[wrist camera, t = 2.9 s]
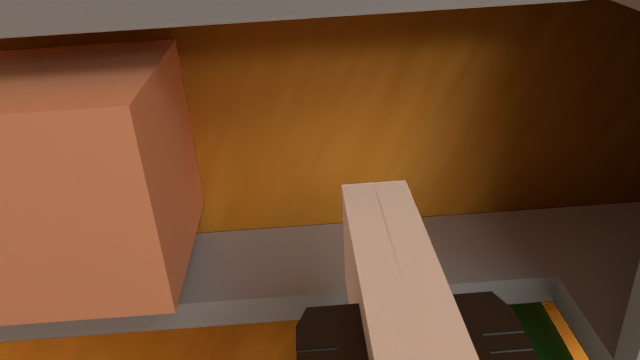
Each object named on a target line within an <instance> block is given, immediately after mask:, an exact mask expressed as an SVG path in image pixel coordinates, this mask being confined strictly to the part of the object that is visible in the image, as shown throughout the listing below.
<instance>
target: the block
mask: <svg viewBox="0 0 640 360" xmlns="http://www.w3.org/2000/svg"><path fill="white" fill-rule="evenodd" d="M203 206H204V199H203V194H202V188H201V182H200V176H199V171H198V165H197V159H196V153H195V148H194V142H193V136H192V130H191V125H190V119H189V113H188V107H187V102H186V96H185V90H184V84H183V79H182V73H181V67H180V61H179V56H178V50H177V44H176V39H173V40H157V41H142V42H126V43H111V44H96V45H80V46H65V47H49V48H34V49H18V50H3V51H0V326H7V325H21V324H35V323H48V322H62V321H75V320H89V319H102V318H116V317H129V316H143V315H156V314H170V313H176V310H177V306H178V302H179V298H180V294H181V290H182V287H183V283H184V279H185V275H186V271H187V267H188V263H189V260H190V256H191V252H192V248H193V244H194V240H195V237H196V233H197V229H198V225H199V221H200V217H201V213H202V210H203Z"/></svg>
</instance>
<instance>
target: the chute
mask: <svg viewBox="0 0 640 360" xmlns="http://www.w3.org/2000/svg"><path fill="white" fill-rule="evenodd" d="M571 1H587V0H0V38H15V37H31V36H46V35H62V34H77V33H93V32H108V31H123V30H139V29H154V28H170V27H185V26H201V25H216V24H232V23H247V22H262V21H278V20H293V19H309V18H324V17H340V16H355V15H371V14H386V13H401V12H417V11H432V10H448V9H463V8H479V7H494V6H509V5H525V4H540V3H556V2H571ZM611 1H614V2H617V3H619V4H622V5H625V6H627V7H630V8H633V9H635V10H638V11H640V0H611ZM421 219H422V221H423V224H424V226H425V229H426V231H427V234H428V236H429V238H430V241H431V243H432V246H433V248H434V251H435V253H436V255H437V258H438V260H439V263H440V265H441V268H442V270H443V272H444V275H445V277H446V280H447V282H448V285H449V287H450V290H451V292H452V294H463V293H475V292H488V291H492V292H493V293H494V294H496V295H497V296H498V297H499V298H500V299H502V300H503V301H504V302H505V303H506V304H520V303H533V302H547V301H553V302H554V304H555V305H556V307H557V308H558V310H559V312H560V313H561V315H562V316H563V318H564V320H565V321H566V323H567V324H568V326H569V328H570V329H571V331H572V332H573V334H574V336H575V337H576V339H577V340H578V342H579V344H580V345H581V347H582V348H583V350H584V352H585V353H586V355H587V356H588V358H589V360H640V202H630V203H616V204H602V205H588V206H574V207H560V208H546V209H532V210H518V211H504V212H490V213H476V214H462V215H448V216H434V217H421ZM343 304H349V301H348V294H347V287H346V281H345V260H344V236H343V223H336V224H322V225H308V226H294V227H280V228H266V229H252V230H238V231H224V232H210V233H196V237H195V240H194V244H193V248H192V252H191V256H190V260H189V263H188V267H187V271H186V275H185V279H184V283H183V287H182V290H181V294H180V298H179V302H178V306H177V310H176V313H170V314H156V315H143V316H129V317H116V318H102V319H89V320H75V321H62V322H48V323H35V324H21V325H7V326H0V342H9V341H22V340H36V339H49V338H63V337H76V336H89V335H103V334H116V333H130V332H143V331H157V330H170V329H184V328H197V327H210V326H224V325H237V324H251V323H264V322H278V321H291V320H300V319H301V317H302V315H303V313H304V311H305V309H306V307H317V306H330V305H343Z"/></svg>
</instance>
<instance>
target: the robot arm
mask: <svg viewBox="0 0 640 360" xmlns="http://www.w3.org/2000/svg"><path fill="white" fill-rule="evenodd" d="M341 187H342V212H343V236H344V260H345V281H346V287H347V294H348V301H349V304H343V305H330V306H317V307H306V309H305V311H304V313H303V315H302V317H301V319H300V320H299V322H298V324H297V326H296V351H297V360H540V359H539V357H538V355H537V353H536V352H534V351H533V346H532V344H531V342H530V340H529V339H528V337H527V335H526V334H524V329H523V327H522V326H521V324H520V322H519V320H518V318H517V316H516V314H515V313H514V311H513V309H512V308H511V307H510V306H509V305H508V304H506V303H505V302H504V301H503V300H502V299H500V298H499V297H498V296H497V295H496V294H494V293H493V292H492V291H488V292H475V293H463V294H452V292H451V290H450V287H449V285H448V282H447V280H446V277H445V275H444V272H443V270H442V268H441V265H440V263H439V260H438V258H437V255H436V253H435V251H434V248H433V246H432V243H431V241H430V238H429V236H428V234H427V231H426V229H425V226H424V224H423V221H422V219H421V216H420V214H419V212H418V209H417V207H416V204H415V202H414V199H413V197H412V195H411V192H410V190H409V187H408V185H407V182H406V180H399V181H385V182H371V183H358V184H344V185H341Z"/></svg>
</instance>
